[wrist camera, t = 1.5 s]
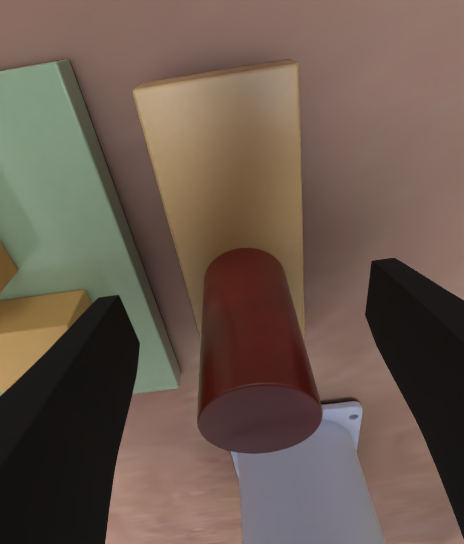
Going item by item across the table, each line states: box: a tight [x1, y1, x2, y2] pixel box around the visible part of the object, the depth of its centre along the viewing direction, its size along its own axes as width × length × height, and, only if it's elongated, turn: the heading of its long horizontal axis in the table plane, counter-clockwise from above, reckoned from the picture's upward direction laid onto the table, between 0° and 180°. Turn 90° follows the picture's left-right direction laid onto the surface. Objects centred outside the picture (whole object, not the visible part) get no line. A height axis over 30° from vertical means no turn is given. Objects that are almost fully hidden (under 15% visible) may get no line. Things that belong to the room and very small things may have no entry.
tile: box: [0, 59, 181, 396], centre depth 14 cm, size 14×11×1 cm
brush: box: [132, 59, 323, 454], centre depth 10 cm, size 4×12×8 cm, turn 8°
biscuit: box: [0, 290, 92, 394], centre depth 14 cm, size 4×4×2 cm
